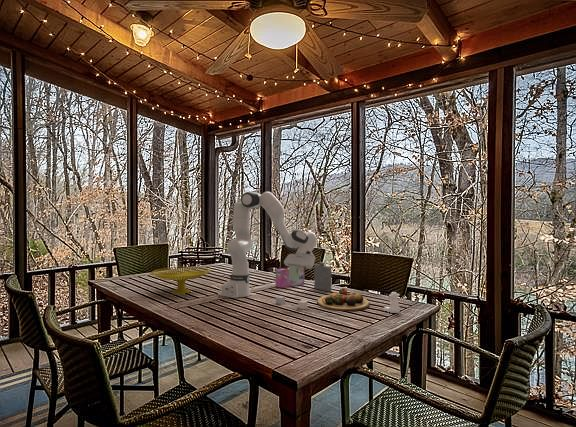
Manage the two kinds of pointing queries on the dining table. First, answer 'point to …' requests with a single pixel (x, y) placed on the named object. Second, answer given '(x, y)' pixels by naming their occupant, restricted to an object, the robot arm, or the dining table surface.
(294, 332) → the dining table surface
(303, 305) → the cream block
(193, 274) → the cake stand
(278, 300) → the grey block
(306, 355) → the dining table surface
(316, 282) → the hip flask
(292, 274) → the sage-green pillar
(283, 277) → the gum box
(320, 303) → the wooden plate with food
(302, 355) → the dining table surface
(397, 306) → the seated beast figurine
